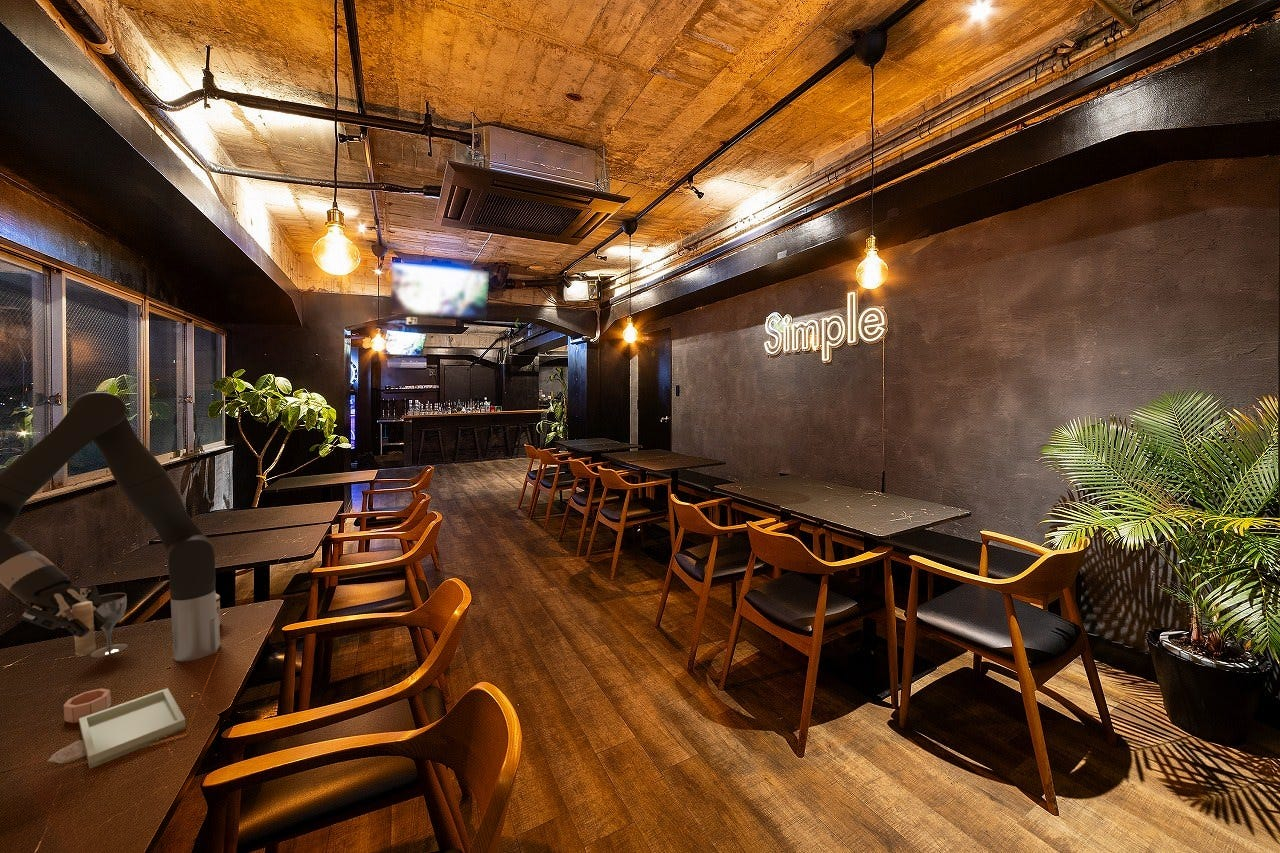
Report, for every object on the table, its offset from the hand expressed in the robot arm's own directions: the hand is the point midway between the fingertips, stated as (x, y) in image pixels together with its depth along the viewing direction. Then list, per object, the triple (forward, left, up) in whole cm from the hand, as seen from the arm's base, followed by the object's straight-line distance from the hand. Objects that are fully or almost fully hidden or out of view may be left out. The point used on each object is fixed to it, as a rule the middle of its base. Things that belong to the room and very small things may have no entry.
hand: (93, 629), depth 110 cm
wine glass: (+8, -38, -20) cm, 43 cm away
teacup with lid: (-11, -43, -20) cm, 48 cm away
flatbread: (-1, +14, -20) cm, 24 cm away
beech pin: (+2, -1, -5) cm, 5 cm away
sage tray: (-8, +10, -20) cm, 24 cm away
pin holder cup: (+2, -2, -20) cm, 20 cm away
